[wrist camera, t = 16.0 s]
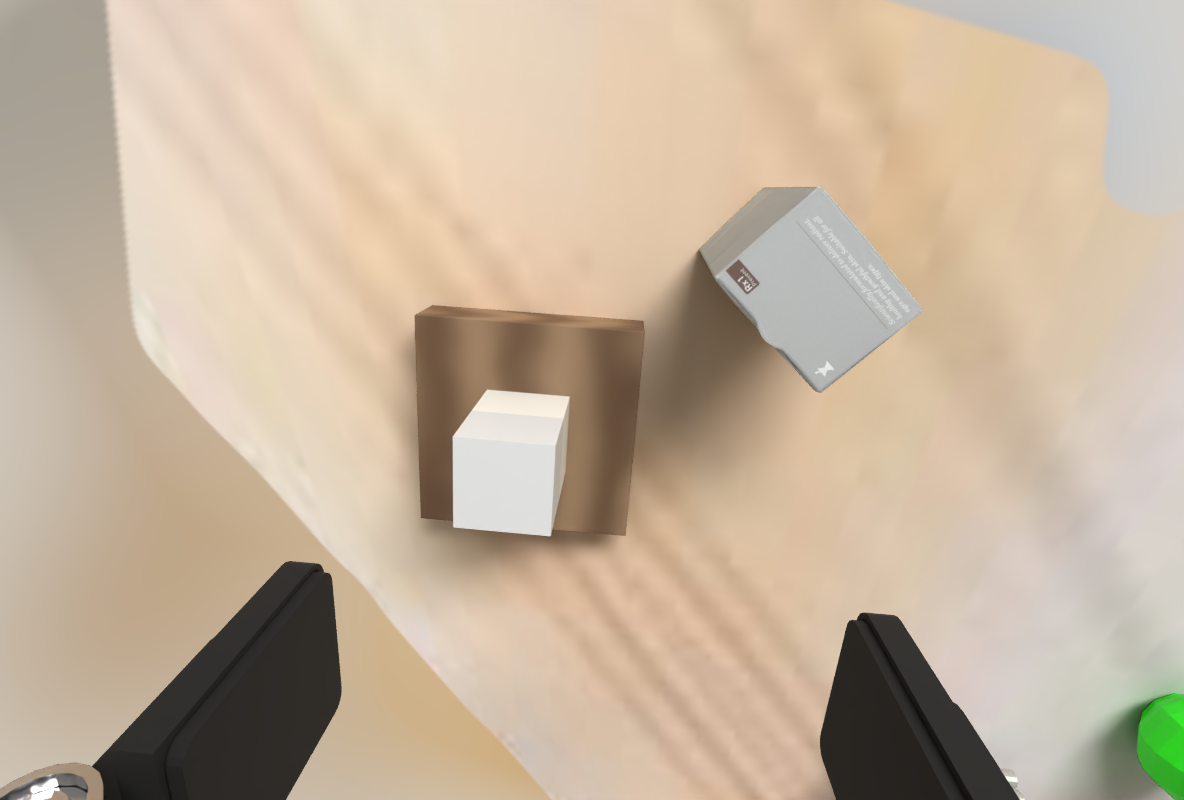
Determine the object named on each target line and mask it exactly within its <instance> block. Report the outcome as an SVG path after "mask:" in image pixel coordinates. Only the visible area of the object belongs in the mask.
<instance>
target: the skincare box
mask: <svg viewBox="0 0 1184 800" xmlns="http://www.w3.org/2000/svg"><path fill="white" fill-rule="evenodd" d="M699 252H700V253H701V255H702V256H703V258H704V260H705V262H706V264H707V265H708V267H709V270H710V272H711V273H712V275H713V277H714V279H715V281H716V282H717V283H718V284H719V286H720V287H721V288H722V289H723V291H724V292H725V293H726V294H727V295H728V297H729V298H730V299H731V300H732V301H733V303H734V304H735V305H736V306H737V307H738V308H739V310H740V311H741V312H742V313H743V314H744V315H745V316H746V317H747V318H748V319H749V320H750V321H751V323H752V324H753V325H754V326H755V327H756V328H757V329H758V330H759V332H760V334H761V337H762V338H763V339H764V340H765V341H766V342H767V343H768V344H769V345H771V346H772V347H775V348H776V349H777V350H778V351H779V352H780V353H781V355H782V356H783V357H784V358H785V359H786V360H787V361H788V362H789V363H790V364H791V365H792V366H793V368H794V369H795V370H796V371H797V372H798V373H799V374H800V375H801V376H802V377H803V378H804V380H805V381H806V382H807V383H808V384H809V385H810V386H811V387H812V389H813V390H815V391H816V392H820V393H821V392H822V391H824V390H825V389H826V388H828V387H829V386H830V385H831V384H833V383H834V382H835V381H836V380H838V379H839V378H840V377H841V376H843V375H844V374H845V373H846V372H848V371H849V370H850V369H851V368H853V367H854V366H855V365H856V364H858V363H859V362H860V361H861V360H863V359H864V358H865V357H866V356H868V355H869V354H870V353H871V352H873V351H874V350H875V349H876V348H878V347H879V346H880V345H881V344H883V343H884V342H885V341H886V340H888V339H889V338H890V337H891V336H893V335H894V334H895V333H896V332H897V331H899V330H900V329H901V328H903V327H904V326H905V325H906V324H908V323H909V322H910V321H911V320H913V319H914V318H915V317H916V316H918V315H919V314H920V313H921V312H922V311H923V309H922V308H921V307H920V305H919V304H918V303H917V301H916V300H915V299H914V298H913V296H912V295H911V294H910V292H909V291H908V290H907V289H906V287H905V286H904V285H903V284H902V282H901V281H900V280H899V279H898V278H897V276H896V275H895V274H894V273H893V271H892V270H891V269H890V268H889V266H888V265H887V264H886V263H885V261H884V260H883V259H882V258H881V256H880V255H879V254H878V253H877V251H876V250H875V249H874V248H873V246H872V245H871V244H870V243H869V242H868V240H867V239H866V238H865V237H864V236H863V234H862V233H861V232H860V231H859V230H858V228H857V227H856V226H855V225H854V224H853V222H852V221H851V220H850V219H849V218H848V216H847V215H846V214H845V213H844V212H843V211H842V209H841V208H840V207H839V206H838V205H837V204H836V202H835V201H834V200H833V199H832V198H831V197H830V195H829V194H828V193H827V192H826V191H825V190H824V189H823V188H822V187H821V186H819V187H768V188H767V187H765V188H763V189H762V190H761V191H760V192H758V193H757V194H756V195H755V196H754V197H753V198H752V199H751V200H750V201H749V202H748V203H747V204H746V205H745V206H744V207H743V208H742V209H741V210H739V211H738V212H737V213H736V214H735V215H734V216H733V217H732V218H731V219H730V220H729V221H728V222H727V223H726V224H725V225H724V226H723V227H722V228H721V229H720V230H719V231H718V232H717V233H716V234H714V235H713V236H712V237H711V238H710V239H709V240H708V241H707V242H706V243H705V244H704V245H703V246H702V247H701V248H700V249H699Z"/></svg>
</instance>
